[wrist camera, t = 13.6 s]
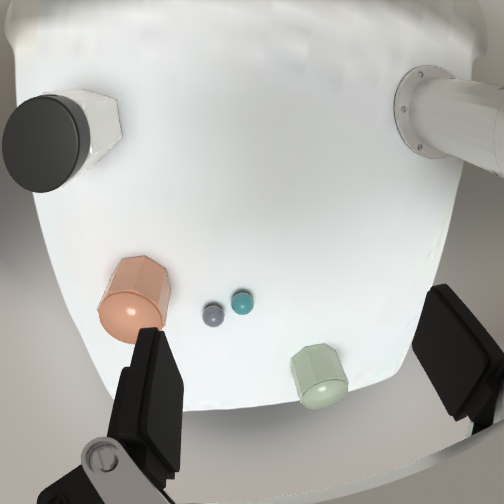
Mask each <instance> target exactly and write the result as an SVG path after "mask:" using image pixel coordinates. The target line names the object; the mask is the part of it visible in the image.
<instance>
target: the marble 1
mask: <svg viewBox="0 0 504 504" xmlns="http://www.w3.org/2000/svg"><path fill="white" fill-rule="evenodd" d="M202 318H203V321H204V323H205V324H206V325H208V326H210V327H217V326H219V325H221V324H222V323H223V321H224V312H223V310H222V309H221V308H220V307H218V306H215V305H211V306H208V307H207V308H206V309H205V310H204V311H203V314H202Z"/></svg>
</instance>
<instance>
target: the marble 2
mask: <svg viewBox="0 0 504 504" xmlns="http://www.w3.org/2000/svg"><path fill="white" fill-rule="evenodd" d="M231 306H232V309H233V311H234V312H235V313H237V314H239V315H246V314H248V313H249V312H251V310H252V309H253V306H254V301H253V299H252V297H251V296H250V295H249V294H247V293H243V292H242V293H238V294H236V295H235V296H234V297H233V298H232V301H231Z"/></svg>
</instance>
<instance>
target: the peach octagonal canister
mask: <svg viewBox="0 0 504 504" xmlns="http://www.w3.org/2000/svg"><path fill="white" fill-rule="evenodd" d="M170 290H171V288H170V284H169V280H168V276H167V272H166V268H164V267H162V266H161V265H159V264H157V263H156V262H154V261H153V260H151V259H150V258H148V257H146V256H139V257H132V258H124V259H122V260H121V262H120V263H119V265H118V267H117V268H116V270H115V271H114V273H113V275H112V276H111V278H110V281H109V283H108V285H107V287H106V290H105V292H104V294H103V297H102V299H101V301H100V304H99V306H98V308H97V311H98V313H99V318H100V322H101V324H102V326H103V327H104V329H105V330H106V331H107V332H108V333H109V334H110V335H111V336H112V337H114V338H116V339H117V340H119V341H122V342H125V343H129V344H136V340H137V336H138V332H139V329H140V328H149V327H157V328H158V330H159V331H161V329H162V328H163V327H164V326H165V323H166V316H167V309H168V303H169V296H170Z"/></svg>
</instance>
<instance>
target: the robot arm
mask: <svg viewBox="0 0 504 504" xmlns="http://www.w3.org/2000/svg"><path fill="white" fill-rule="evenodd" d="M394 111H395V119H396V123H397V127H398V130H399V132H400V134H401V137H402V138H403V140H404V141H405V143H406V144H407V145H408V146H409V147H410V148H411V149H412V150H413V151H415V152H416V153H417V154H419V155H422V156H424V157H427V158H431V159H439V158H443V157H446V156H448V155H452V156H455V157H457V158H459V159H462V160H464V161H467V162H469V163H471V164H473V165H475V166H478V167H480V168H482V169H484V170H486V171H488V172H491V173H493V174H495V175H497V176H499V177H501V178H503V179H504V85H498V84H492V83H485V82H477V81H469V80H460V79H456V78H455V77H454V76H453V75H452V74H450V73H449V72H448V71H446V70H444V69H443V68H440V67H437V66H421V67H417V68H415V69H413V70H412V71H410V72H409V73H408V74H407V75H406V76H405V77H404V78H403V80H402V81H401V83H400V85H399V87H398V90H397V93H396V98H395V110H394ZM412 348H413V351H414V353H415V355H416V356H417V358H418V360H419V362H420V363H421V365H422V367H423V368H424V370H425V372H426V374H427V375H428V377H429V379H430V381H431V383H432V384H433V386H434V388H435V390H436V391H437V393H438V395H439V397H440V399H441V401H442V403H443V405H444V406H445V408H446V410H447V412H448V414H449V415H450V416H453V418H454V419H455V421H458V420H461V419H463V418H465V417H467V415H468V417H469V418H470V422H469V427H468V431H467V436H466V439H464V440H462V441H460V442H458V443H456V444H454V445H452V446H449V447H447V448H445V449H443V450H441V451H438V452H436V453H434V454H431V455H429V456H426V457H424V458H421V459H419V460H416V461H414V462H411V463H408V464H406V465H404V466H400V467H397V468H395V469H392V470H389V471H385V472H383V473H379V474H376V475H373V476H370V477H366V478H363V479H359V480H355V481H352V482H348V483H344V484H340V485H336V486H332V487H327V488H323V489H318V490H313V491H308V492H303V493H297V494H291V495H284V496H277V497H271V498H262V499H252V500H242V501H230V502H214V503H191V504H504V353H503V351H502V350H501V349H500V347H499V346H498V345H497V343H496V342H495V341H494V340H493V338H492V337H491V336H490V334H489V333H488V332H487V331H486V329H485V328H484V327H483V326H482V324H481V323H480V322H479V321H478V320H477V318H476V317H475V316H474V315H473V314H472V312H471V311H470V310H469V309H468V308H467V306H466V305H465V304H464V303H463V302H462V301H461V299H459V297H458V296H457V295H456V294H455V293H454V291H453V290H452V289H451V288H450V287H449V286H448V285H447V284H441V285H436V286H432V287H431V288H430V291H428V292H427V295H426V298H425V302H424V306H423V309H422V313H421V316H420V319H419V323H418V326H417V329H416V332H415V335H414V338H413V341H412ZM183 394H184V385H183V380H182V377H181V375H180V372H179V370H178V367H177V365H176V362H175V360H174V357H173V354H172V352H171V349H170V346H169V344H168V341H167V338H166V336H165V333H164V331H159V330H158V328H157V327H149V328H140V329H139V332H138V336H137V340H136V344H135V348H134V352H133V356H132V360H131V364H130V367H124V368H123V369H122V372H121V375H120V379H119V383H118V387H117V391H116V396H115V400H114V404H113V409H112V414H111V418H110V423H109V428H108V433H107V437H99V438H96V439H93V440H91V441H90V442H89V443H88V444H86V446H85V447H84V449H83V451H82V454H81V465H79V466H78V467H77V468H75V469H74V470H72V471H71V472H69V473H68V474H66V475H65V476H63V477H62V478H60V479H59V480H57V481H56V482H55V483H53V484H51V485H50V486H49V487H47V488H45V489H44V490H43V491H42V492H41V493H40V494H39V496H38V499H37V504H177V503H176V502H175V501H174V500H173V499H172V498H171V497H170V495H169V494H168V493H167V492H166V491H165V490H164V488H165V487H166V479H175V472H179V470H180V453H181V452H180V451H181V429H182V411H183Z"/></svg>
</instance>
